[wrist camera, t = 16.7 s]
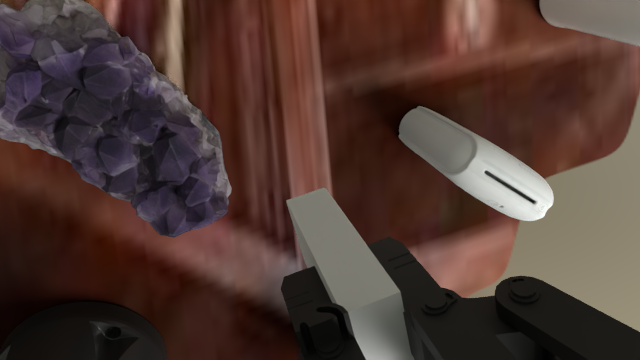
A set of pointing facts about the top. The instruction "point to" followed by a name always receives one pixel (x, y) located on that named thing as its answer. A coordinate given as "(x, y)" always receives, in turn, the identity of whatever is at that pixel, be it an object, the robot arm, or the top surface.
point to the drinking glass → (596, 17)
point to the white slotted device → (476, 165)
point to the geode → (108, 114)
